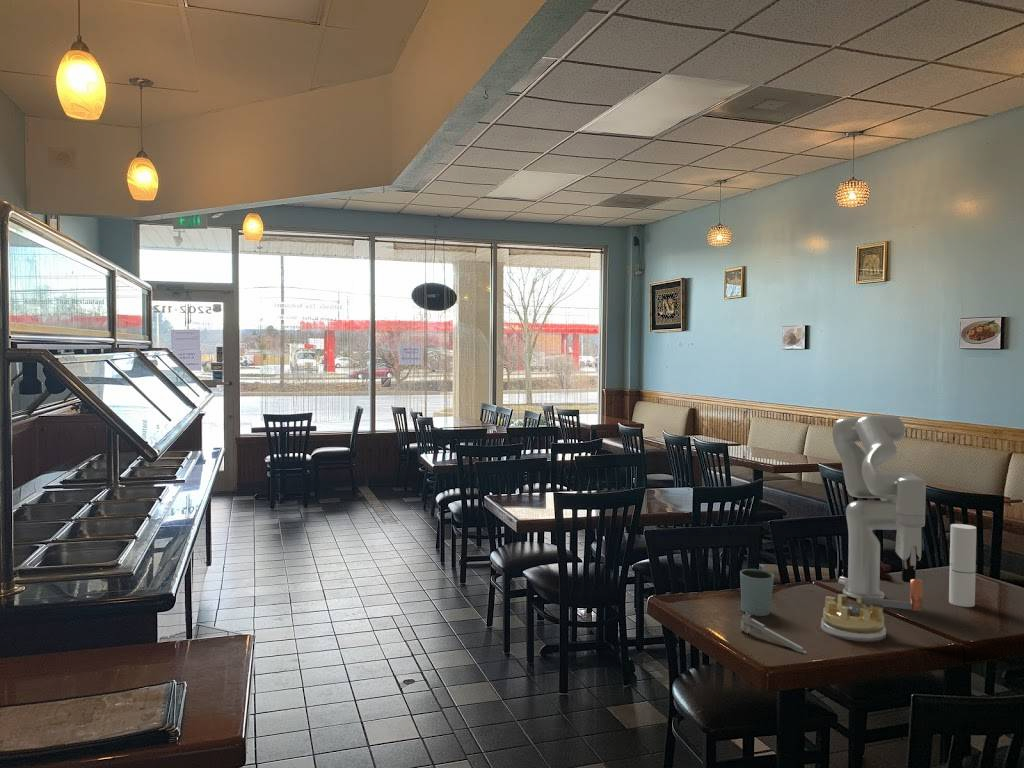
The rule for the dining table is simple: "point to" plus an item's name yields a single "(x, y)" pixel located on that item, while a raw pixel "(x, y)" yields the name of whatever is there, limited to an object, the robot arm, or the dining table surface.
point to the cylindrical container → (962, 565)
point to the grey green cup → (756, 591)
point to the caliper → (767, 632)
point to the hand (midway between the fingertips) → (908, 581)
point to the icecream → (885, 568)
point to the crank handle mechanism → (867, 610)
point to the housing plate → (853, 634)
